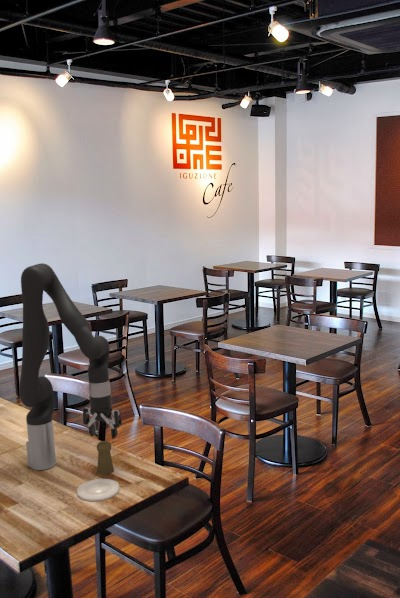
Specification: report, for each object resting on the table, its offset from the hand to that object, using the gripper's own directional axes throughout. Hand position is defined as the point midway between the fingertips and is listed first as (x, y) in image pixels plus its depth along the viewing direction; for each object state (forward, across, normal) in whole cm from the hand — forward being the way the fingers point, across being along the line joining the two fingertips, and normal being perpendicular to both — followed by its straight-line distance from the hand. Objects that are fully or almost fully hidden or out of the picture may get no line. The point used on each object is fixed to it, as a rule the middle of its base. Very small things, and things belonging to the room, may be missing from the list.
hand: (103, 436), depth 218 cm
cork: (+13, 0, 0) cm, 13 cm away
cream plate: (+13, +5, -14) cm, 20 cm away
